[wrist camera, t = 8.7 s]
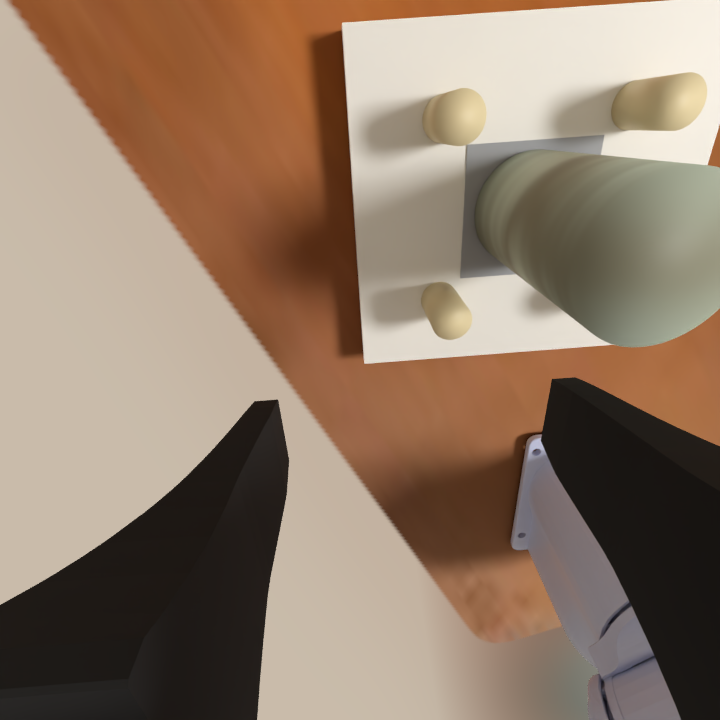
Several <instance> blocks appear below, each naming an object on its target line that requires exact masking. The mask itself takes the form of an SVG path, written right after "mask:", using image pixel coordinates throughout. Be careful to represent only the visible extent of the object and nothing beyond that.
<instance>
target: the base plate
mask: <svg viewBox="0 0 720 720" xmlns="http://www.w3.org/2000/svg"><path fill="white" fill-rule="evenodd" d="M342 42H343V57H344V72H345V87H346V102H347V117H348V132H349V148H350V163H351V178H352V193H353V208H354V223H355V238H356V253H357V268H358V283H359V299H360V314H361V329H362V344H363V356H364V364H367V363H380V362H393V361H406V360H419V359H432V358H446V357H459V356H472V355H485V354H498V353H511V352H524V351H537V350H550V349H563V348H576V347H589V346H602V345H614V344H610V343H608V342H605V341H603V340H601V339H600V338H598V337H596V336H595V335H593V334H592V333H591V332H590V331H588V330H587V329H586V328H584V327H583V326H582V325H581V324H579V323H578V322H577V321H575V320H574V319H573V318H572V317H570V316H569V315H568V314H566V313H565V312H564V311H563V310H561V309H560V308H559V307H558V306H556V305H555V304H554V303H552V302H551V301H550V300H549V299H547V298H546V297H545V296H543V295H542V294H541V293H540V292H538V291H537V290H536V289H534V288H533V287H532V286H531V285H529V284H528V283H527V282H526V281H524V280H523V279H522V278H520V277H519V276H518V275H517V274H515V273H514V272H513V271H511V270H510V269H509V268H508V267H506V266H505V265H504V264H502V263H501V262H500V261H499V260H497V259H496V258H495V257H493V256H492V255H491V254H490V253H489V252H488V251H487V250H486V249H485V248H484V247H483V245H482V244H481V242H480V240H479V238H478V235H477V232H476V228H475V207H476V202H477V199H478V196H479V193H480V191H481V189H482V187H483V185H484V183H485V182H486V180H487V179H488V177H489V176H490V175H491V174H492V172H493V171H494V170H495V169H496V168H497V167H498V166H499V165H500V164H502V163H503V162H504V161H506V160H507V159H509V158H511V157H512V156H514V155H516V154H519V153H521V152H525V151H528V150H535V149H545V150H555V151H565V152H576V153H586V154H596V155H607V156H617V157H627V158H638V159H648V160H658V161H669V162H679V163H689V164H700V165H708V161H709V158H710V155H711V151H712V148H713V145H714V141H715V138H716V135H717V131H718V128H719V125H720V0H670V1H655V2H640V3H626V4H611V5H597V6H582V7H567V8H553V9H538V10H523V11H509V12H494V13H479V14H465V15H450V16H436V17H421V18H406V19H392V20H377V21H362V22H348V23H342Z"/></svg>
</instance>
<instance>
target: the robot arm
mask: <svg viewBox="0 0 720 720" xmlns="http://www.w3.org/2000/svg"><path fill="white" fill-rule="evenodd" d="M535 449H537V450H536V451H533V450H535ZM288 467H289V457H288V452H287V446H286V441H285V436H284V430H283V425H282V419H281V414H280V408H279V402H278V400H267V401H255V402H254V403H253V404H252V405H251V406H250V407H249V408H248V410H247V411H246V412H245V413H244V414H243V415H242V417H241V418H240V419H239V420H238V421H237V423H236V424H235V425H234V426H233V427H232V428H231V430H230V431H229V432H228V433H227V434H226V435H225V437H224V438H223V439H222V440H221V441H220V442H219V443H218V444H217V446H216V447H215V448H214V449H213V450H212V451H211V452H210V453H209V454H208V455H207V456H206V457H205V458H204V460H202V462H200V463H199V464H198V465H197V467H195V468H194V469H193V470H192V471H191V473H190V474H189V475H188V476H186V478H184V479H183V480H182V481H181V482H180V483H179V484H178V485H177V486H176V487H174V488H173V489H172V490H171V491H170V492H169V493H168V494H166V495H165V496H164V497H163V498H162V499H161V500H159V501H158V502H157V503H156V504H155V505H154V506H152V507H151V508H150V509H148V510H147V511H146V512H145V513H143V514H142V515H141V516H139V517H138V518H137V519H135V520H134V521H132V522H131V523H130V524H128V525H127V526H126V527H124V528H123V529H122V530H120V531H119V532H118V533H116V534H115V535H114V536H112V537H111V538H109V539H108V540H107V541H105V542H104V543H102V544H101V545H99V546H98V547H96V548H95V549H93V550H92V551H90V552H89V553H87V554H86V555H84V556H83V557H81V558H80V559H78V560H77V561H75V562H73V563H72V564H70V565H68V566H67V567H65V568H64V569H62V570H60V571H59V572H57V573H56V574H54V575H52V576H51V577H49V578H47V579H46V580H44V581H42V582H41V583H39V584H37V585H35V586H34V587H32V588H30V589H28V590H26V591H25V592H23V593H21V594H19V595H17V596H16V597H14V598H12V599H10V600H8V601H7V602H5V603H3V604H1V605H0V720H257V712H258V699H259V684H260V672H261V661H262V649H263V638H264V627H265V617H266V606H267V597H268V589H269V583H270V577H271V571H272V566H273V561H274V556H275V551H276V546H277V541H278V536H279V531H280V526H281V521H282V516H283V511H284V505H285V500H286V495H287V482H288ZM511 545H512V547H513V549H515V550H527V549H528V551H529V553H530V555H531V557H532V560H533V562H534V564H535V566H536V568H537V571H538V573H539V575H540V577H541V580H542V582H543V584H544V586H545V589H546V591H547V593H548V595H549V598H550V600H551V602H552V604H553V606H554V609H555V611H556V613H557V615H558V618H559V620H560V622H561V624H562V627H563V629H564V631H565V633H566V634H567V636H568V638H569V640H570V641H571V643H572V644H573V646H574V647H575V648H576V649H577V651H578V652H579V653H580V654H581V655H582V656H583V657H584V658H585V659H586V660H587V661H588V662H589V663H591V664H592V665H593V666H594V667H596V668H597V670H598V672H599V674H596V675H594V676H592V678H591V679H590V680H589V683H588V715H589V720H720V446H717V445H715V444H713V443H710V442H708V441H706V440H703V439H701V438H699V437H697V436H695V435H692V434H690V433H688V432H686V431H684V430H681V429H679V428H677V427H675V426H673V425H671V424H669V423H667V422H665V421H662V420H660V419H658V418H656V417H654V416H652V415H650V414H648V413H646V412H644V411H642V410H640V409H638V408H636V407H635V406H633V405H631V404H629V403H627V402H625V401H623V400H621V399H619V398H617V397H615V396H613V395H611V394H609V393H607V392H605V391H603V390H601V389H599V388H597V387H595V386H593V385H591V384H589V383H587V382H585V381H583V380H580V379H578V378H562V379H552V382H551V388H550V393H549V399H548V404H547V409H546V415H545V420H544V426H543V431H542V434H540V435H533V436H531V437H530V438H529V439H528V440H527V443H526V449H525V455H524V462H523V468H522V474H521V480H520V486H519V493H518V499H517V505H516V511H515V518H514V524H513V530H512V536H511Z"/></svg>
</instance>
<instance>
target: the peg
mask: <svg viewBox="0 0 720 720" xmlns="http://www.w3.org/2000/svg"><path fill="white" fill-rule="evenodd" d="M475 228H476V232H477V235H478V238H479V240H480V242H481V244H482V245H483V247H484V248H485V249H486V250H487V251H488V252H489V253H490V254H491V255H492V256H493V257H495V258H496V259H497V260H499V261H500V262H501V263H502V264H504V265H505V266H506V267H508V268H509V269H510V270H511V271H513V272H514V273H515V274H517V275H518V276H519V277H520V278H522V279H523V280H524V281H526V282H527V283H528V284H529V285H531V286H532V287H533V288H534V289H536V290H537V291H538V292H540V293H541V294H542V295H543V296H545V297H546V298H547V299H549V300H550V301H551V302H552V303H554V304H555V305H556V306H558V307H559V308H560V309H561V310H563V311H564V312H565V313H566V314H568V315H569V316H570V317H572V318H573V319H574V320H575V321H577V322H578V323H579V324H581V325H582V326H583V327H584V328H586V329H587V330H588V331H590V332H591V333H592V334H593V335H595V336H596V337H598V338H600V339H601V340H603V341H605V342H608V343H610V344H614V345H618V346H623V347H644V346H651V345H656V344H660V343H663V342H666V341H669V340H672V339H674V338H676V337H679V336H681V335H683V334H685V333H687V332H688V331H690V330H692V329H694V328H695V327H697V326H698V325H700V324H701V323H702V322H704V321H705V320H707V319H708V318H709V317H710V316H711V315H713V314H714V313H715V312H716V311H717V310H718V309H719V308H720V168H719V167H714V166H708V165H700V164H689V163H679V162H669V161H658V160H648V159H638V158H627V157H617V156H607V155H596V154H586V153H576V152H565V151H555V150H545V149H535V150H528V151H525V152H521V153H519V154H516V155H514V156H512V157H511V158H509V159H507V160H506V161H504V162H503V163H502V164H500V165H499V166H498V167H497V168H496V169H495V170H494V171H493V172H492V174H491V175H490V176H489V177H488V179H487V180H486V182H485V183H484V185H483V187H482V189H481V191H480V193H479V196H478V199H477V202H476V207H475Z"/></svg>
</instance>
